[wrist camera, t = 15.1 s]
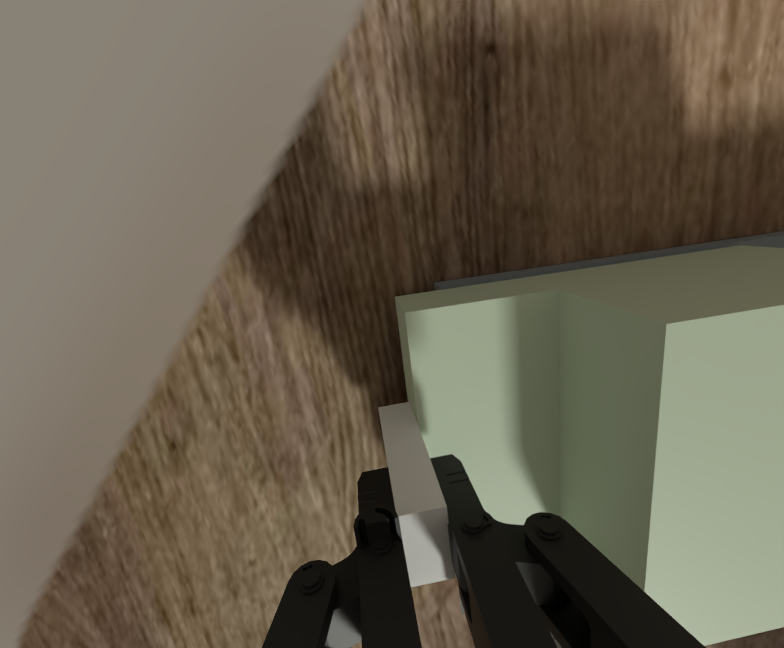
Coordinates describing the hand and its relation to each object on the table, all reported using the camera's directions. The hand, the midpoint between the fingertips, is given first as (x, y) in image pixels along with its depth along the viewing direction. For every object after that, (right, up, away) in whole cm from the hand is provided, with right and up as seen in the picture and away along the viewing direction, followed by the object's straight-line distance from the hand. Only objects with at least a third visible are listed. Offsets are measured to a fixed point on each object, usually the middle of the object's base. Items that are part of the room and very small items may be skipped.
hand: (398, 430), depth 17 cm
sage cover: (+9, +2, +2) cm, 9 cm away
